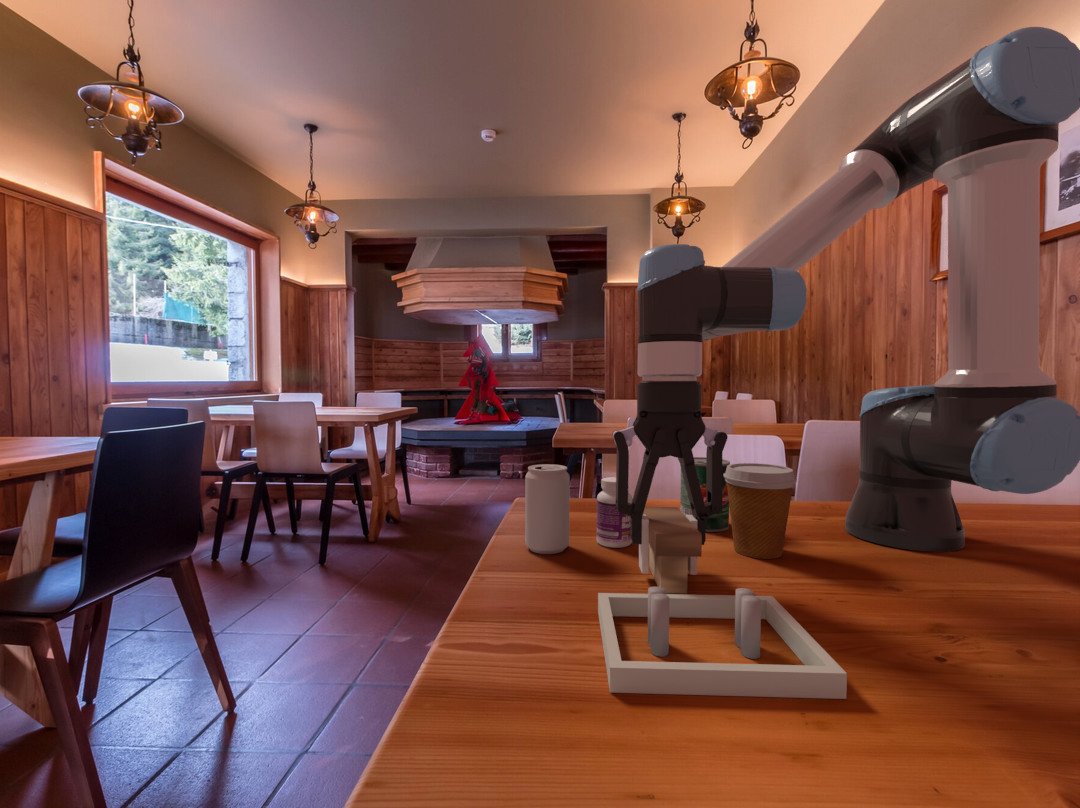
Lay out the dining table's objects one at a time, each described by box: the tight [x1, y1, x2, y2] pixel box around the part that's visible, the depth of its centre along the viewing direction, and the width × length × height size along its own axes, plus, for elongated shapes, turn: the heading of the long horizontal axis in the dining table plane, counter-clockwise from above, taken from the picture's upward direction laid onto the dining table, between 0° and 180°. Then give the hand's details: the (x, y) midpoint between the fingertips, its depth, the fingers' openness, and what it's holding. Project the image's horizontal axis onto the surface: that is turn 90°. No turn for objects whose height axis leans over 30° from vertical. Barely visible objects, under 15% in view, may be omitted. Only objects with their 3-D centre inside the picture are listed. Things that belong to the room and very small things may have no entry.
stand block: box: [648, 544, 689, 595], centre depth 62 cm, size 3×8×5 cm, turn 177°
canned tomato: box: [679, 456, 731, 533], centre depth 86 cm, size 8×8×11 cm
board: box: [643, 506, 703, 558], centre depth 62 cm, size 12×5×2 cm, turn 177°
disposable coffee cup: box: [723, 462, 798, 560], centre depth 72 cm, size 10×10×12 cm
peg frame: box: [597, 585, 848, 700], centre depth 46 cm, size 18×14×5 cm
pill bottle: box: [596, 476, 633, 549], centre depth 76 cm, size 5×5×10 cm
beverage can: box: [524, 463, 571, 555], centre depth 74 cm, size 6×6×12 cm
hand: (667, 569), depth 62 cm, fingers closed on board, 5 cm apart
